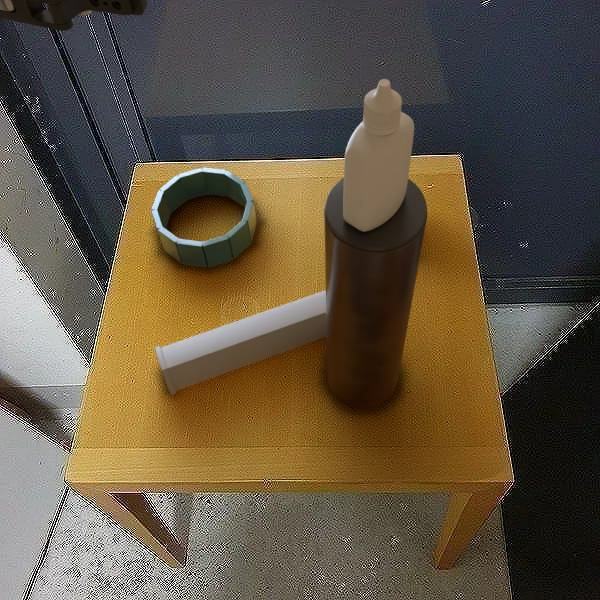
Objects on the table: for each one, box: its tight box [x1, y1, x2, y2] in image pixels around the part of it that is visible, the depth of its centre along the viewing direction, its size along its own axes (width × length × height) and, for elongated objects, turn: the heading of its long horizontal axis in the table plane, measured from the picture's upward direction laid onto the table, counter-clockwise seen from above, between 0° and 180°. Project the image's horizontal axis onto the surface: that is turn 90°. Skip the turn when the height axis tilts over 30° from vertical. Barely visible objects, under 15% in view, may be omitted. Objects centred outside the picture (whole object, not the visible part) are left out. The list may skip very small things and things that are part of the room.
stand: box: [323, 177, 428, 409], centre depth 66 cm, size 8×8×30 cm
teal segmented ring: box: [150, 166, 258, 268], centre depth 89 cm, size 13×13×4 cm
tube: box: [154, 289, 327, 396], centre depth 79 cm, size 5×5×25 cm
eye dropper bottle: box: [343, 78, 415, 232], centre depth 48 cm, size 4×6×12 cm
